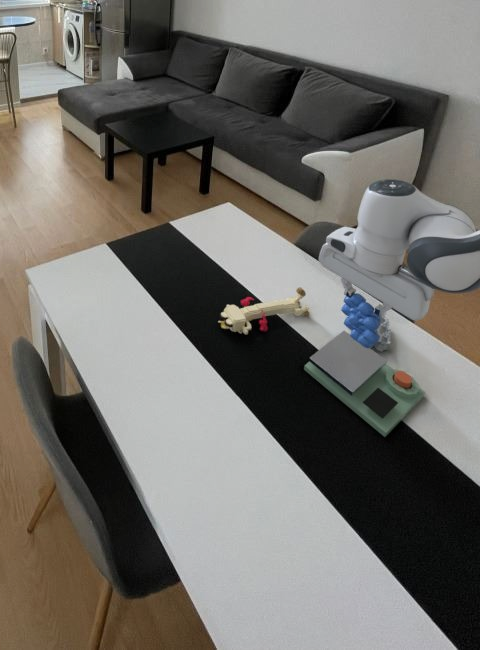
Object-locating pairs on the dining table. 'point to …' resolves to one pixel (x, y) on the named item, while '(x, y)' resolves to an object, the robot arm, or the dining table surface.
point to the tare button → (402, 379)
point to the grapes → (361, 320)
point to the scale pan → (353, 369)
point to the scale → (379, 380)
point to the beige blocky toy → (260, 312)
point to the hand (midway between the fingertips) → (363, 304)
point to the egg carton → (383, 335)
